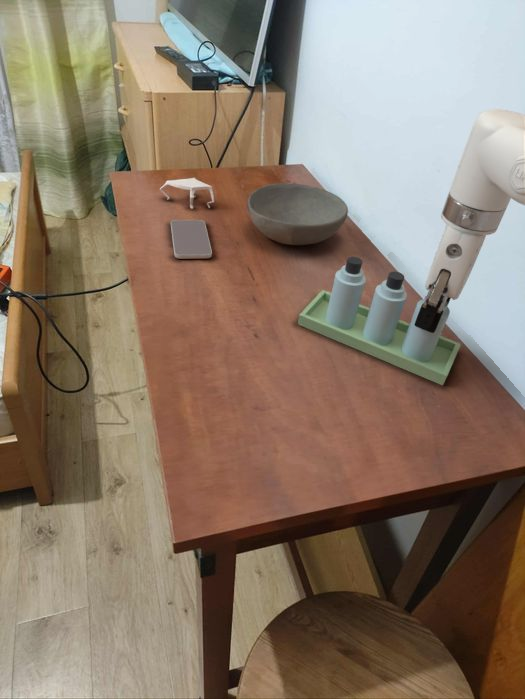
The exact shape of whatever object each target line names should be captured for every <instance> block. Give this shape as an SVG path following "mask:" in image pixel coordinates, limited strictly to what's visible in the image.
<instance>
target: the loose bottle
mask: <svg viewBox="0 0 525 699" xmlns="http://www.w3.org/2000/svg"><path fill="white" fill-rule="evenodd" d="M443 291H446V292H447V290H445V289H444V290H443ZM426 296H427V295H425V296H424V298H422V299H420V300H418V302H417V303H416V305H415V307H414V308H415V309H414V312H413V314H412V317H411V319H410V322H409V324H410V325H409V328H408V330H407V333H406V336H405V339H404V341H403V344H402V347H401V349H402V352H403V354H404V355H405V356H408V357H410V358H412V359H415V360H417V361H420V362H424V361H428V360H429V359H430V358H431V356H432V354H433V352H434V349H435V347H436V345H437V342H438V340H439V337H440V336H442V332H443V330H444V328H445V325H446V323H447V321H448V318H449V316H450V313H451V310H450V308H449V304H448V303H447V301H446V302H445V304H444V307H443V309H442V311H443V314H442V316H441V319H440V321H439V323H438V326H437V328H436V330H435V332H434V333H431V332H428V331H426V330H423V329H421V328H418V327H416V326H415V325H414V324H415V321H416V319H417V316H418V313H419V311H420V308H421V306H422V304H423V303H424V301H425V299H426ZM442 299H443V297H442V296H441V297H440V299H439V301H442Z"/></svg>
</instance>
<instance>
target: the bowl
mask: <svg viewBox="0 0 525 699" xmlns="http://www.w3.org/2000/svg"><path fill="white" fill-rule="evenodd" d="M247 211H248V215H249V217H250V220H251V222H252V223H253V224H254V226H255V227H256V228H257V229H258V231H259V232H260V233H262V234H263V236H265V237H266V238H268V239H270V240H272V241H274V242H277V243H279V244H283V245H288V246H289V245H291V246H305V245H306V246H307V245H312V244H318V243H321V242H323V241H325V240H327V239H330V238H331V237H332V236H333V235H335V234H336V233H337V232H338V231H339V230H340V229H341V227H342V226H343V224H344V223H345V221H346V220H347V217H348V214H349V209H348V204H346V202H345V201H344V200H343V199H342V198H341V197H340V196H338V195H337V194H335V193H333V192H330V191H328V190H326V189H322V188H319V187H316V186H313V185H306V184H300V183H291V182H290V183H289V182H287V183H285V182H284V183H282V182H281V183H270V184H266V185H263V186H260V187H258V188H257V189H255V190H253V192H251V193H250V195H249V196H248V198H247Z"/></svg>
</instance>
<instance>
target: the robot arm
mask: <svg viewBox="0 0 525 699" xmlns="http://www.w3.org/2000/svg"><path fill="white" fill-rule="evenodd" d="M511 199H512V200H513V201H514V202H516V203H518V204H520V205H522V206H523V205H524V206H525V114H523V113H520V112H517V111H513V110H508V109H502V108H501V109H498V108H497V109H495V108H494V109H487V110H485V111H483V112H481V113H480V114H479V115H478V116H477V117H476V119H475V120H474V123H473V125H472V127H471V129H470V132H469V135H468V139H467V141H466V144H465V147H464V149H463V151H462V155H461V158H460V160H459V163H458V166H457V169H456V172H455V174H454V177H453V180H452V182H451V185H450V188H449V191H448V194H447V197H446V200H445V202H444V205H443V208H442V211H441V213H440V218H441V220H442V221H443V222H444V223H445V224H446V225H445V228H444V230H443V233H442V235H441V238H440V241H439V243H438V246H437V249H436V252H435V255H434V257H433V260H432V263H431V265H430V269H429V272H428V275H427V278H426V282H425V284H424V288H425V289H426V290H427V291H428V292H427V294H426V295H425V296H426V299H425V301H424V303H423V304H422V306H421V308H420V311H419V313H418V316H417V319H416V321H415V324H414V325H415V326H416V327H418V328H421V329H423V330H426V331H428V332H431V333H434V332H435V330H436V328H437V326H438V323H439V321H440V319H441V316H442V314H443V311H442V309H443V307H444V304H445V302H446V301H447V303H448V305H449V304H450V301H451V300H453V301H455V300H458V299H459V297H460V296H461V294H462V292H463V291H464V288H465V286H466V284H467V282H468V279H469V277H470V275H471V273H472V271H473V268H474V266H475V263H476V262H477V259H478V256H479V254H480V252H481V250H482V247H483V245H484V242H485V240H486V237H487V236H489V235H492V234H495V233H496V232H497V230H498V228H499V226H500V224H501V221H502V219H503V218H504V215H505V213H506V210H507V208H508V206H509V204H510V202H511ZM444 289H445V290H447V292H446V291H443V290H444ZM441 296H442V297H443V299H442V301H439V299H440V297H441Z"/></svg>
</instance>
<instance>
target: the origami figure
mask: <svg viewBox="0 0 525 699" xmlns="http://www.w3.org/2000/svg"><path fill="white" fill-rule="evenodd" d="M168 186H169V187H170V186H171V187H174V188H177V189H182V190H186V191H190V192H189V208H190V209H191V210H192V209H194V198H197V196H196V195H194V194H195V193H196V191H206V190H208V193H209V195H210V198H211V201H209V202H206V206H207V207H208V209H211V206H210V204H212V203H215V199H214V198H215V197H214V192H213V186H212V185H209V184H207V183H205V182H202V181H200V180H198V179H196V177H191V178H180V179H171V180H166V181H165V183H164V184H163V185H162V186H161V187H160V188H159V191H160V192H161V193H162V194H163V195H164V196H165V197H166V200H168V201H170V200H171V197H170V196H169V195H168V194H167V193H166V192H165V191H164V189H165V188H167V187H168Z"/></svg>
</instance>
